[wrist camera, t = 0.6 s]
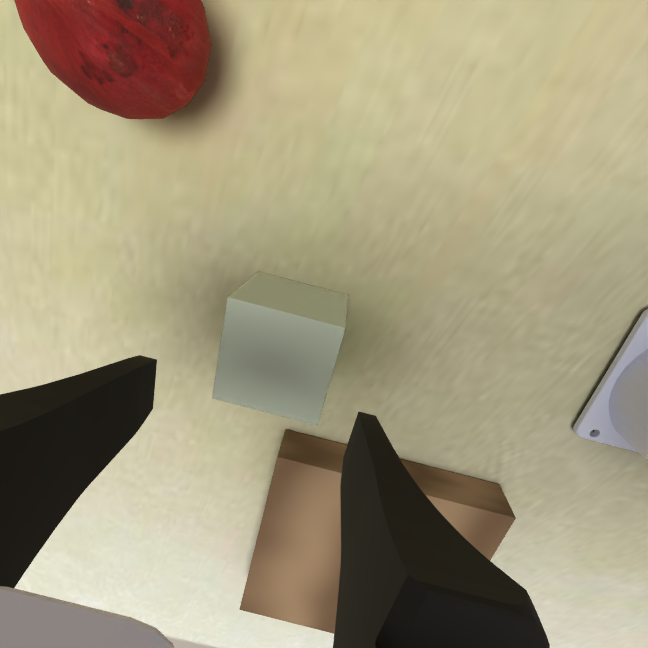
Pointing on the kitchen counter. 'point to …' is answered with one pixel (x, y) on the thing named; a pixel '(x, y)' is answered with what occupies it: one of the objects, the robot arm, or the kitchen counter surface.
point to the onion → (123, 51)
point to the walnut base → (325, 528)
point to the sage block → (280, 346)
